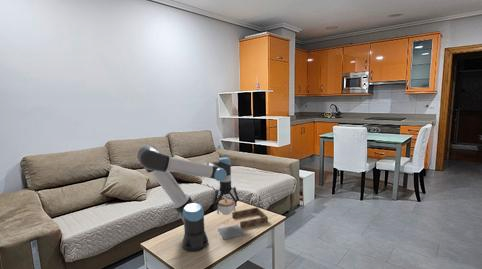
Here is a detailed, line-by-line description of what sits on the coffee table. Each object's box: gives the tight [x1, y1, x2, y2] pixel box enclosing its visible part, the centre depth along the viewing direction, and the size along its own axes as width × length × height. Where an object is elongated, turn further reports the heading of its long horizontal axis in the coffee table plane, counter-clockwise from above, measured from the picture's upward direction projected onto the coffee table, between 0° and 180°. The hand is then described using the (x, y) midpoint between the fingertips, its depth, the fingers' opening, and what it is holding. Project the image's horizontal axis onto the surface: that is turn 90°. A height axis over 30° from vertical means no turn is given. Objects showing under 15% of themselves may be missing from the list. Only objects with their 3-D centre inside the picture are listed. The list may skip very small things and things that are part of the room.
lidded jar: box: [218, 198, 234, 216], centre depth 181 cm, size 11×11×9 cm
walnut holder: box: [231, 207, 269, 229], centre depth 189 cm, size 20×17×4 cm
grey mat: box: [217, 224, 246, 241], centre depth 173 cm, size 14×14×1 cm
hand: (226, 212), depth 182 cm, fingers closed on lidded jar, 11 cm apart
